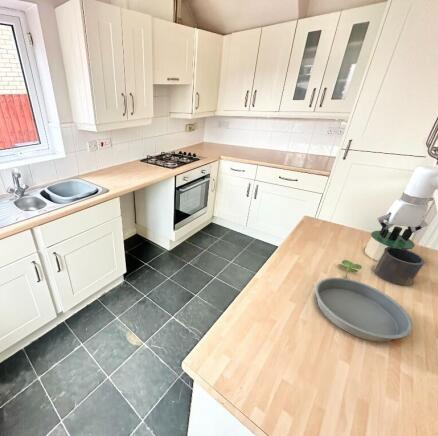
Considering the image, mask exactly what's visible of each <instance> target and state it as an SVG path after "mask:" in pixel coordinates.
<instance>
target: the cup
mask: <svg viewBox="0 0 438 436" xmlns="http://www.w3.org/2000/svg"><path fill="white" fill-rule="evenodd" d="M425 263H426V260H425V258H423V257H422V256H421V255H420V254H418V253H416V252H414V251H411V250H410V251H409V250H406V249H403V248H398V247H387V248H385V249H384V251H383V252H382V254H381V256H380V258H379V260H378V261H376V264H375V265H374V267H373V273H374V274H375V275H376V276H378V277H379V278H380V279H382V280H384V281H386V282H388V283H390V284H393V285H398V286H409V285H411V284H412V283H413V282H414V280H415V279H416V278H417V276H418V274H419V273H420V271H421V269H422V268H423V267H424V265H425Z"/></svg>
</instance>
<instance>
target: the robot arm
mask: <svg viewBox="0 0 438 436" xmlns="http://www.w3.org/2000/svg"><path fill="white" fill-rule="evenodd" d="M436 190H438V167H437V166H429V165H421V166H418V167H416V168H415V169H414V171H413V173H412V175H411V177H410V179H409V180H408V182H407V184H406V187H405V188H404V189H403V192H402V193H401V196H400V198H396V199H395V200H394V202H393V203H392V204H391V206H390V207H389V208H388V210H387V211H386V213H385V214H384V215H382V216H379V217H377V219H376V221H378V223H379V225H380V226H381V229H380V230H379V231H380V236H381V237H382V238H385V237H386V236H387V234H388V232H390V230H389V229H390V228H391V227H393V226H398V227H407V228H405V229H404V230H403V233H402V234H401V235H402V236H401V237H402V238H403V239H404V240H405V241H408V239H410V238H411V237H412V235H413V234H415V233H416V232H417V231H419V230H422V229H423V228H425V227H427V226H428V225H429V224H428V223H427V222H426V221H425V217H426V214H427V213H428V208H429V202H433V201H434V197H432V196H433V195H434V193H435V191H436Z"/></svg>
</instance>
